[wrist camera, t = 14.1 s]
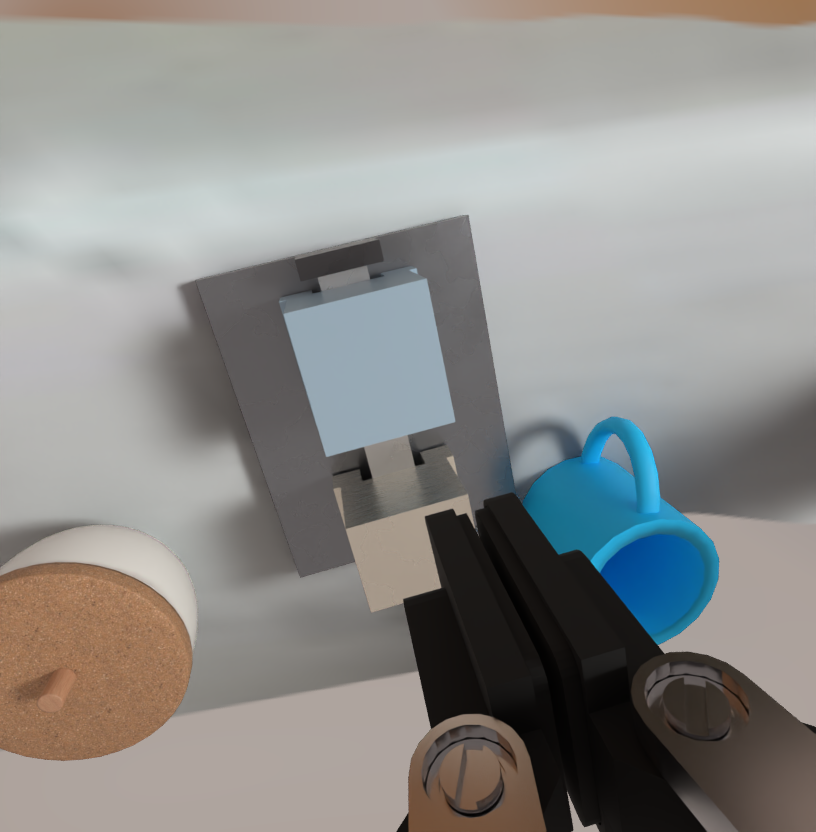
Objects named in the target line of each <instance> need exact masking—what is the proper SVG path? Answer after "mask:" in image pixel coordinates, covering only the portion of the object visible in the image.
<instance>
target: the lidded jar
mask: <svg viewBox="0 0 816 832" xmlns="http://www.w3.org/2000/svg"><path fill="white" fill-rule="evenodd" d="M197 628H198V606H197V598H196V593H195V588H194V586H193V583H192V581H191V578H190V576H189V573H188V571H187V569H186V568H185V566H184V565H183V563H182V561H181V560H180V559H179V558H178V557H177V556H176V555H175V554H174V552H173V551H172V550H170V549H169V548H168V547H167V546H166V545H164V544H163V543H162V542H160V541H159V540H157V539H155V538H154V537H152V536H150V535H148V534H146V533H143V532H141V531H138V530H135V529H131V528H128V527H122V526H115V525H89V526H80V527H76V528H72V529H68V530H64V531H61V532H58V533H56V534H53V535H51V536H48V537H46V538H43V539H42V540H40V541H38V542H36V543H35V544H33V545H31V546H30V547H28V548H26V549H25V550H23V551H21V552H20V553H18V554H17V555H16V556H14V557H13V558H12V559H11V560H9V561H8V562H7V563H6V564H4V565H3V566H2V567H1V568H0V748H1V749H4V750H6V751H9V752H12V753H16V754H19V755H22V756H26V757H32V758H39V759H45V760H46V759H47V760H61V761H65V760H81V759H89V758H95V757H101V756H104V755H108V754H111V753H115V752H118V751H120V750H123V749H125V748H128V747H130V746H133V745H135V744H136V743H138V742H140V741H141V740H143V739H145V738H146V737H148V736H150V735H151V734H152V733H154V732H155V731H156V730H157V729H159V728H160V727H161V726H163V725H164V723H165V722H166V721H167V720H168V719H169V718H170V717H171V716H172V715H173V714H174V712H175V711H176V709H177V708H178V706H179V705H180V703H181V701H182V699H183V697H184V694H185V692H186V690H187V686H188V682H189V678H190V673H191V668H192V657H193V652H194V647H195V643H196V638H197Z"/></svg>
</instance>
